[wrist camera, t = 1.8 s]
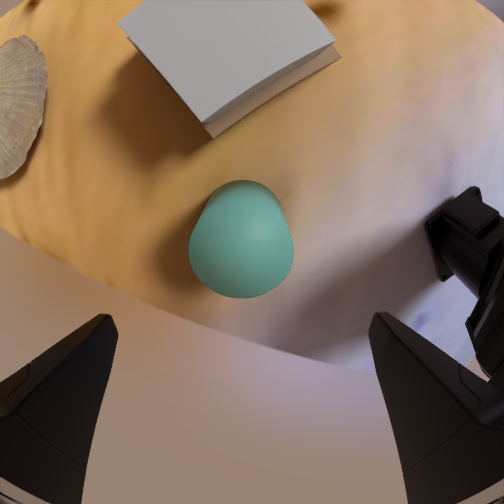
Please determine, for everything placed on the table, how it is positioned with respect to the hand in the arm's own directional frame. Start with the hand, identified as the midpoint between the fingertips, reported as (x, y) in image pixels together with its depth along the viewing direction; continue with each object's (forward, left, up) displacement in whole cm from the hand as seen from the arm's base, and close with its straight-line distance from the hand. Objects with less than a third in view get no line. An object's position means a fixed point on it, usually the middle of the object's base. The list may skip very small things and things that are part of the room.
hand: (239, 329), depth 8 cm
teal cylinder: (0, 0, -10) cm, 10 cm away
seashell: (+20, +9, -10) cm, 24 cm away
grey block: (+9, -6, -7) cm, 13 cm away
